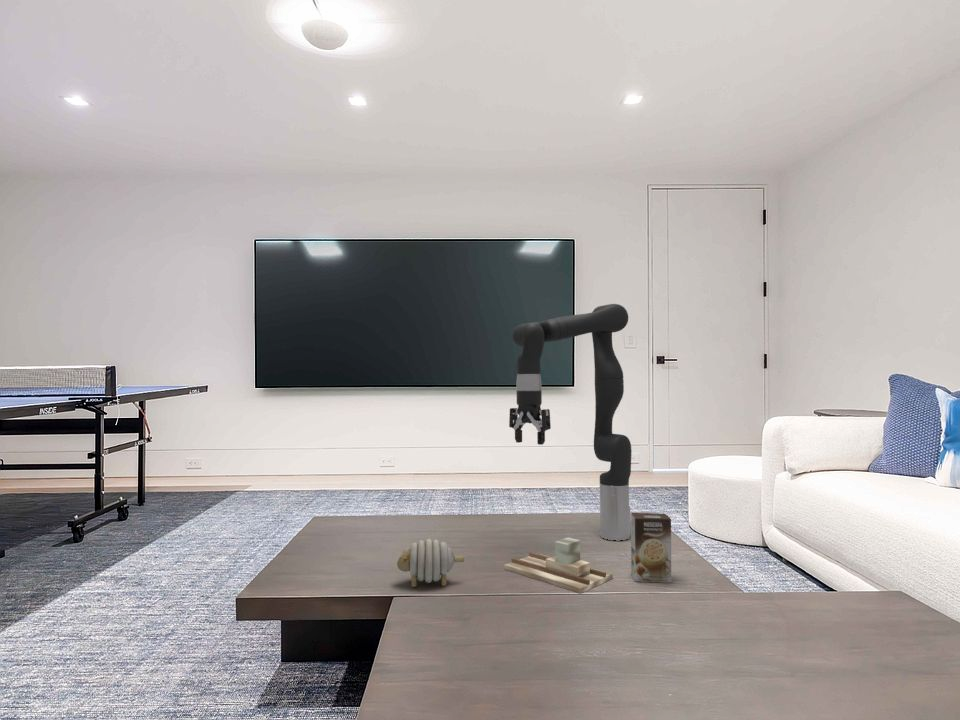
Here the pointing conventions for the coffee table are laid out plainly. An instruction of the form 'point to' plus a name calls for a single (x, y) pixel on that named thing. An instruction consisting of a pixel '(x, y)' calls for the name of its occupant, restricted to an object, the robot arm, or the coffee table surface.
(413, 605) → the coffee table surface
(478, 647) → the coffee table surface
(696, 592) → the coffee table surface
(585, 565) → the block
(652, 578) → the coffee box
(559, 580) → the birch plank
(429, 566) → the toy sheep
